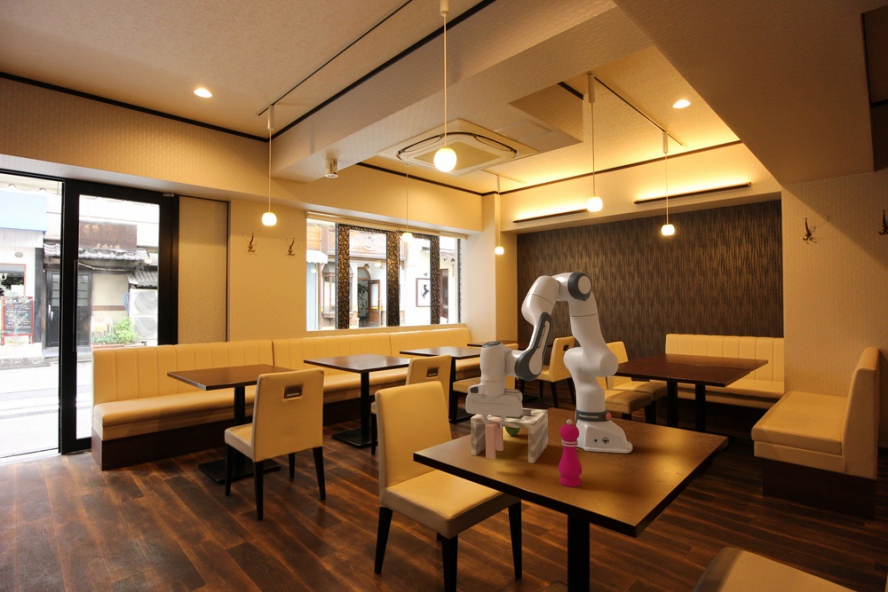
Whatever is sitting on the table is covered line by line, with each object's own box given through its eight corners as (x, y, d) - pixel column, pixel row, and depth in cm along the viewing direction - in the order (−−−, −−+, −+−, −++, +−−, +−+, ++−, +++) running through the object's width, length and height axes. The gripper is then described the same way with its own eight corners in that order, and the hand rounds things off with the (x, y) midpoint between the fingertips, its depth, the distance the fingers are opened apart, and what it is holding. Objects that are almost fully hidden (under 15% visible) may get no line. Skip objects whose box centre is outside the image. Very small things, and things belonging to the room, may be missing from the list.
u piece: (503, 449, 164) (502, 419, 164) (494, 459, 154) (493, 426, 155) (495, 448, 165) (494, 418, 165) (485, 457, 156) (485, 425, 156)
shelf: (548, 445, 184) (547, 404, 185) (533, 463, 162) (533, 417, 163) (491, 438, 194) (491, 399, 195) (471, 454, 173) (470, 411, 173)
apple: (501, 437, 195) (501, 410, 196) (503, 432, 204) (503, 406, 204) (522, 438, 194) (522, 411, 194) (523, 433, 202) (523, 407, 202)
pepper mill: (555, 479, 147) (554, 417, 147) (577, 478, 147) (576, 416, 148) (563, 488, 140) (562, 422, 140) (586, 487, 140) (584, 421, 141)
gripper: (524, 388, 159) (525, 427, 158) (469, 385, 167) (470, 423, 167) (519, 391, 153) (520, 432, 153) (463, 388, 162) (464, 427, 161)
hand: (494, 427), depth 160 cm, fingers closed on u piece, 3 cm apart
